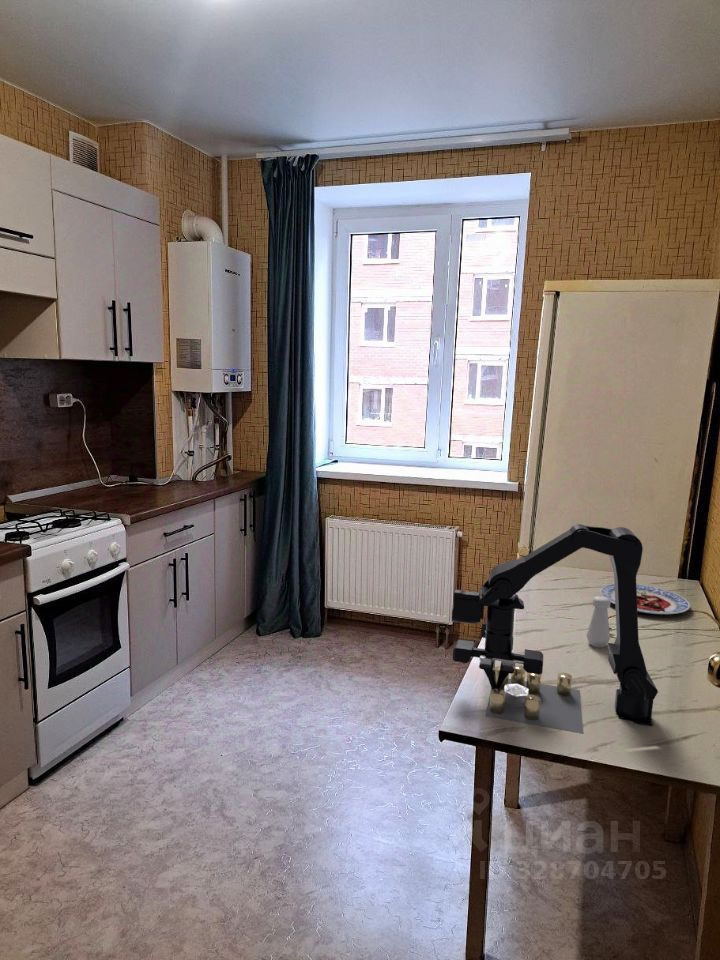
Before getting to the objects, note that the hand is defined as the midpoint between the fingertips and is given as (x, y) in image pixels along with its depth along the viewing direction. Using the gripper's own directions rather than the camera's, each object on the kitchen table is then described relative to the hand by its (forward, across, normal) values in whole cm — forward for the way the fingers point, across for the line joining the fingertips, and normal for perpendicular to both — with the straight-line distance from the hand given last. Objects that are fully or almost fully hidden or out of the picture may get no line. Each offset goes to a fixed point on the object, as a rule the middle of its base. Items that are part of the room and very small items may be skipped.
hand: (495, 693), depth 136 cm
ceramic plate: (+2, -39, -76) cm, 86 cm away
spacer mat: (+1, -8, 0) cm, 8 cm away
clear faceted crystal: (+1, -4, 0) cm, 4 cm away
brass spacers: (+1, -8, -1) cm, 8 cm away
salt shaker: (+2, -23, -38) cm, 45 cm away
